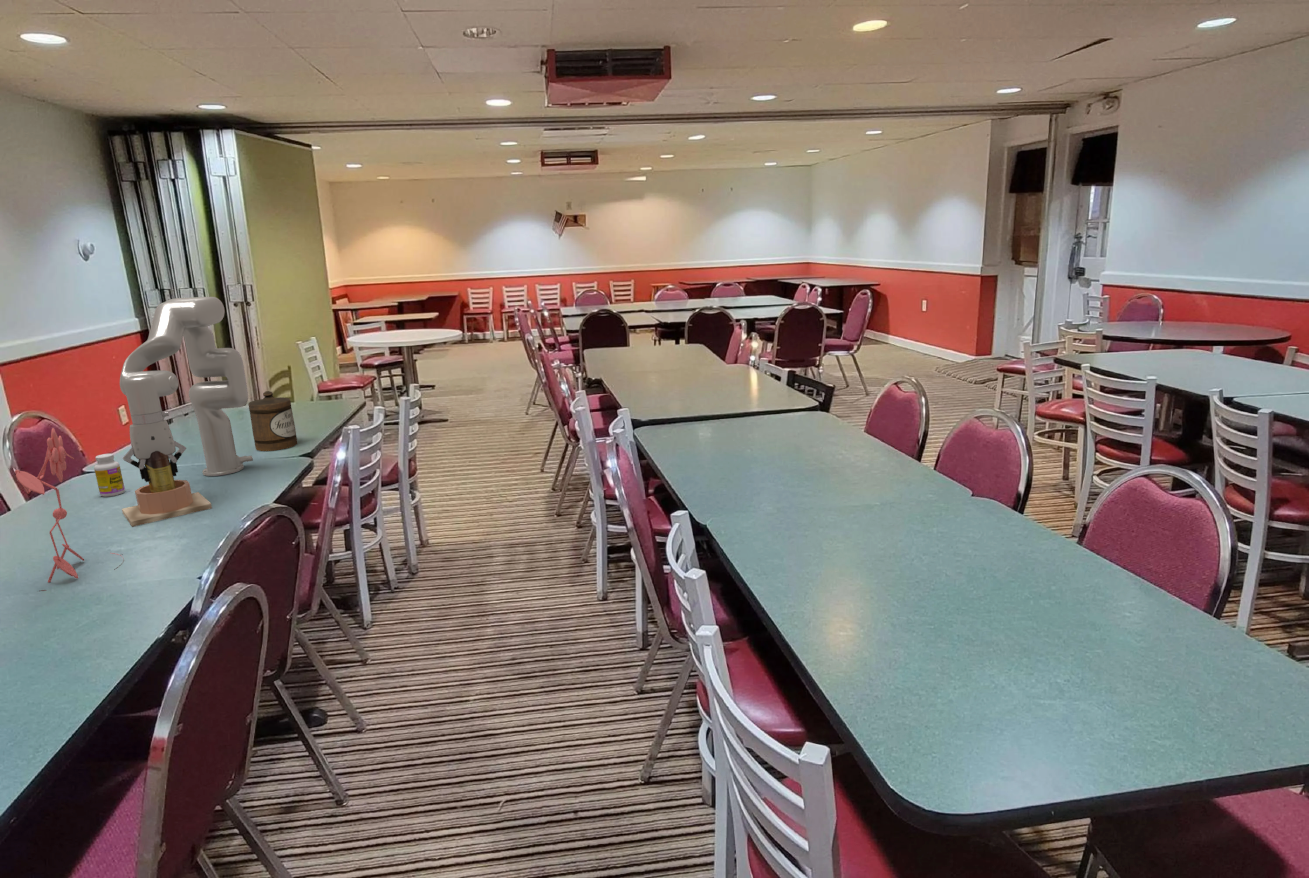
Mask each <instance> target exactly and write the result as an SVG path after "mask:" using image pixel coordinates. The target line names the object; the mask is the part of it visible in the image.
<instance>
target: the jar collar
mask: <svg viewBox="0 0 1309 878" xmlns="http://www.w3.org/2000/svg"><path fill="white" fill-rule="evenodd" d="M174 482H175V486H176V489H173V490H168V491H164V492H157V493H151V490H150V486H149V484H146V485H143V486H141V487H140V486H139V488H137V489H135V490H134V495H135V499H136V502H137V505H138V508H139V511H140V512H141V513H142V514H158V513H166V512H170V511H175V510H179V509H181V508H184V507H187V506H189V505H190V504H191V503H192V502H193V498H192V493H193V492H192V489H191V483H190V482H189V481H188V480H186V479H185V480H184V479H174Z"/></svg>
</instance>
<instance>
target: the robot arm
mask: <svg viewBox="0 0 1309 878" xmlns="http://www.w3.org/2000/svg"><path fill="white" fill-rule="evenodd" d="M223 318H225V307H224V304H223V302H222V300H220V299H219V298H218V297H216V296H197V297H196V296H195V297H194V296H193V297H190V296H189V297H176V298H170V299H168V300H166V301H164V302H162V303H161V302H160V303H159V304H158V305H157V306H156V308H155V310H154V313H153V318H152V322H151V325H150V330H149V333H148V337H147V340H146V341H145V342H143V343H142V344H140V345H139V346H137V347H136V348H135V349H134V350H133V351H132V352H131V353H130V354H129V355H128V356H127V357H126V358H125V361H124V362H123V365H122V368H121V371H120V377H119V389H120V391H121V392H122V394H123V395H125V397H126V400H127V404H128V409H129V413H130V418H131V421H132V423H131V424H130V425H129V439H130V446H131V447H130V449H129V450H128V451H127V452H126V454H125V455H123V457H122V460H123V461H124V462H126V463H129V464H130V465H131V466H133V467H136V468H137V469H139V474H140V477H141V480H144V481H145V483H149V482H148V481H149V478H148V474H147V469H146V468H145V461H146V459H148V458H150V455H151V453H152V452H155V451H160V452H161V453H164V454H165V455H168V457H169V461H170V464H171V468H172V473H173V477H177V476H178V475H177V473H179V470H178V465H177V462H178V460H180V458H181V457H182V455H183V453H185V451H186V450H187V447H186V446H185V445H183V444H181V443H179V442H177V441H176V440H174V437H173V434H172V431H171V428H170V425H169V423H168V420H167V419H165V418H166V417H169V416H170V415H169V414H170V413H169V411H163V410H162V406H161V400H160V397H166V396H171V395H172V394H174V393H175V392H177V390H178V388H179V379H178V377H177V375H176V374H175V373H173V372H172V371H170V370H166V369H165V370H164V369H163V370H146V369H147V368H148V367H149V366H150V365H153V364H155V363H156V362H159V361H162V360H164V359H166V358H169V357H171V356H173V355H175V354H177V353H178V352H179V351H180V349H181V347H182V341H183V339H184V344H185V350H186V354H187V355H186V356H187V360H188V365H189V370H190V372H191V374H192V376H194V377H197V378H219V377H220V378H221V377H223V378H224V377H225V378H226V379H227V380H208V381H200V382H196V383H194V384H193V385H191V386H190V388H189V390H188V398H189V401H190V403H191V406H192V408H193V411H194V413H195V416H196V421H197V425H198V431H199V435H200V440H201V446H202V450H203V456H204V460H205V465H206V468H204V469H203V470H202V472H201V473H202V475H203V476H207V477H218V476H224V475H230V474H234V473H237V472H240V471H242V470H244V468H245V467H244V463H246V462H247V463H248V462H252V461H254V457H253V456H252V455H242V456H239V455H237V450H236V446H235V445H236V444H235V440H234V433H233V429H232V423H231V420H230V418H229V416H228V415H227V414H226V412H225V411H223V409H236V408H237V409H238V408H242V407H245V406H246V405H247V403H248V402H249V391H248V384H247V379H246V378H247V377H246V372H245V366H244V361H243V357H242V356H241V353H240V352H239V351H238V350H237V349H235V348H232V347H220V348H218V347H216V343H215V342H216V341H215V337H214V334H213V331H212V330H211V329H210V328H209V327H210V326H212V325H216V324H218V323H221V321H222V320H224V319H223ZM151 436H154V438H155V440H151ZM177 449H178V450H177ZM176 450H177V451H176ZM132 457H135V458H136V459H137V460H134V459H132Z"/></svg>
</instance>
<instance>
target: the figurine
mask: <svg viewBox="0 0 1309 878" xmlns="http://www.w3.org/2000/svg"><path fill="white" fill-rule="evenodd" d="M62 437H63V436H61V435H59V436H58V433H57V432H56V429H55V428H54V427H52V428H51V433H50V437H48V438H47V439H46V444H47V448H46V453H45V457H44V463H43V465H42V466H41V469H40V471H39V473H38V475H37V476H35V475H33V474H32V473H30V472H28V471H22V470H20V469H15V470H14V473H15V477H16V479H17V482H18V483H20V484H21V486H23V489H24V491H25V492H26V493H27V495H29V494H30V493H31V491H32V492H34V493H37V494H40V495H45V487H44V485H45V486H47V487H49V488H51V489H52V490H54V491H55V494H56V497H57V503H58V506H59V507H58V508H56V509H54V510H53V512H52V517H53V519H54V520H55V523H54V525H53V526H52V528H51V529H50V530H49V536H50V539H51V543H52V544H53V548H54V551H55V554H56V555H54V556H52V560H53V561H54V564H53V567H52V570H51V572H50V575H49V577H48V578H47V579H48V580H47V583H51V582H52V579H53V577H54V575H55V572H56V569H57V570H58V569H60V570H61V571H63V572H64V573H65V574H67V575H69V576H70V577H72V578H75V579H79V576H78V573H77V570H76V569H75V568H74V567H73V566H72V564H71V563H69V561H67V560H66V559H64V557H65V555H66V553H67V551H68V552H70V553H72V554H73V555H74V556H75V557H77V558H78V559H79V560H81V561H82V562H84V561H85V559H84V558H83V556H81V554H79V553H77V551H75V550H73V548H71V547H70V544H68V541H67V540H66V537H65V533H64V532H63V529H62V527H61V525H60V523H59V521H60V520H63V519H65V518H66V517H67V516H68V515H67V514H68V511H67V510H66V509H65V508H63V507H62V501H61V495H60V491H59V489H58V487H56V486H54V485H52V484H49V483H47V482H45V481H43V480H42V479H43V478H44V477H45V474H46V470H47V469H46V468H47V465H48V463H49V466H50V472H51V475H52V476H55V475H56V477H57V479H58V481H59V483H62V482H63V480H64V476H63V473H64V471H66V470H67V467H68V466H67V462H66V458H67V457H69V458H70V459H72V460H75V459H76V458H75V457H73V456H72V455H70V454H68V453H67V451H66V449H65V448H64V441H63V438H62ZM55 527H58V529H59V531H60V533H61V536H62V539H63V541H64V543H62V544H61V545H62V547H64V548H63V551H62V553H61V556H60V555H59V551H58V549H57V546H56V543H55V539H54V536H53V533H52V532H53V531H54V529H55ZM111 554H112V555H113V554H114V555H118V556H121V557H122V556H123V554H122V553H121V554H120V553H115V552H111ZM122 559H123V561H122V563H121V564H120V566H121V565H123V563H124V561H125V560H124V557H122ZM118 568H119V566H117V567H116V568H114V571H115V570H116V569H118ZM45 591H47V590H46V589H44V590H40V592H45Z"/></svg>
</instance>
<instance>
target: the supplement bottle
mask: <svg viewBox="0 0 1309 878" xmlns="http://www.w3.org/2000/svg"><path fill="white" fill-rule="evenodd" d="M114 459H115V455H114V454H113V453H103V454H98V455H96V456H95V461H96V464H95V465H94V466H93V467H94V468H93V469H94V473H95V479H96V482H97V483H96V484H97V486H98V491H99V495H100V497H105V498H106V497H107V498H108V497H115V496H119V495H121V494H123V493H125V492H126V488H125V485H124V484H125V483H124V479H123V474H122V470H121V466H120V463H119V462H118V461H116V460H114Z"/></svg>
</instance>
